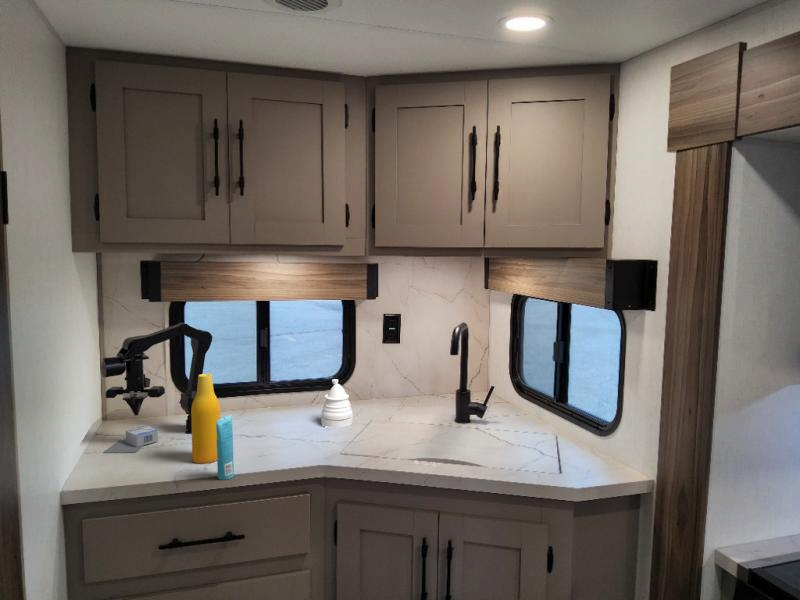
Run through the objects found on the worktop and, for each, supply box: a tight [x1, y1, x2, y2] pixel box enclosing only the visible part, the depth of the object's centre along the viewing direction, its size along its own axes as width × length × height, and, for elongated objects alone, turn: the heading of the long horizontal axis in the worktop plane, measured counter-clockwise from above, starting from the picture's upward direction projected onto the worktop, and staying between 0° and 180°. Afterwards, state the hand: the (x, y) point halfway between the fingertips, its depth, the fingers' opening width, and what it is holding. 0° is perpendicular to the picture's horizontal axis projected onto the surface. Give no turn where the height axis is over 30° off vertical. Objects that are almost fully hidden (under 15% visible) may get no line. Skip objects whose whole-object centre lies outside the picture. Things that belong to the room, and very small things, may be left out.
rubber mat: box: [102, 439, 143, 454], centre depth 199 cm, size 11×12×1 cm
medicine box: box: [124, 425, 159, 447], centre depth 203 cm, size 8×4×9 cm
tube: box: [216, 413, 235, 481], centre depth 173 cm, size 7×5×19 cm, turn 167°
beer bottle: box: [191, 373, 221, 465], centre depth 187 cm, size 9×9×29 cm
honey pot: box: [320, 378, 354, 427], centre depth 227 cm, size 13×13×18 cm
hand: (136, 415), depth 200 cm, fingers closed
